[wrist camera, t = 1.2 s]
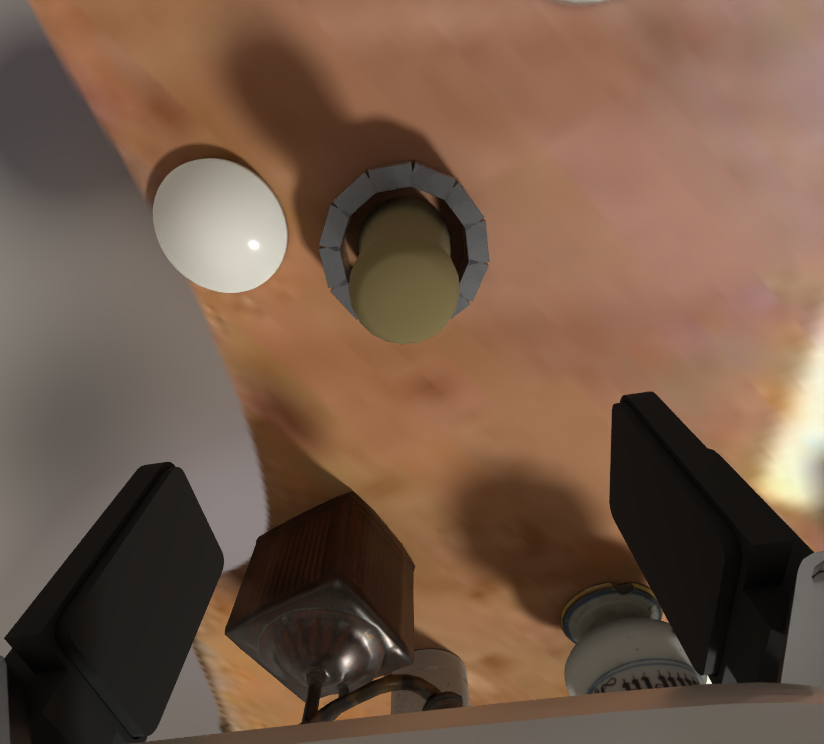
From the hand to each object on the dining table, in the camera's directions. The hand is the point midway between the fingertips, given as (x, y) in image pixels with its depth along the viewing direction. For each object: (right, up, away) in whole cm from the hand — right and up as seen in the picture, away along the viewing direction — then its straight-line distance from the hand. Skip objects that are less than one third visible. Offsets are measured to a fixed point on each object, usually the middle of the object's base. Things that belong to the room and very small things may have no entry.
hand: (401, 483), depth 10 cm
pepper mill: (-4, -12, +32) cm, 35 cm away
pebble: (-12, +12, +20) cm, 26 cm away
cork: (0, +11, +20) cm, 23 cm away
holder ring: (0, +11, +20) cm, 23 cm away
